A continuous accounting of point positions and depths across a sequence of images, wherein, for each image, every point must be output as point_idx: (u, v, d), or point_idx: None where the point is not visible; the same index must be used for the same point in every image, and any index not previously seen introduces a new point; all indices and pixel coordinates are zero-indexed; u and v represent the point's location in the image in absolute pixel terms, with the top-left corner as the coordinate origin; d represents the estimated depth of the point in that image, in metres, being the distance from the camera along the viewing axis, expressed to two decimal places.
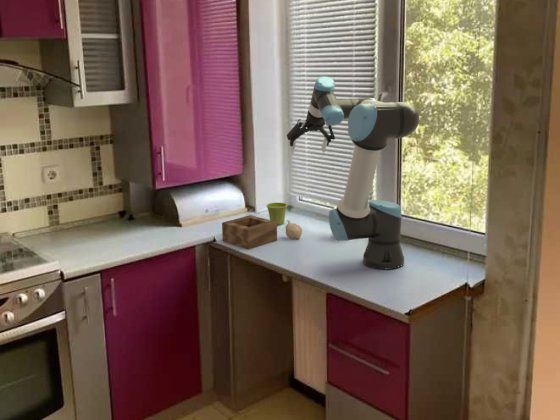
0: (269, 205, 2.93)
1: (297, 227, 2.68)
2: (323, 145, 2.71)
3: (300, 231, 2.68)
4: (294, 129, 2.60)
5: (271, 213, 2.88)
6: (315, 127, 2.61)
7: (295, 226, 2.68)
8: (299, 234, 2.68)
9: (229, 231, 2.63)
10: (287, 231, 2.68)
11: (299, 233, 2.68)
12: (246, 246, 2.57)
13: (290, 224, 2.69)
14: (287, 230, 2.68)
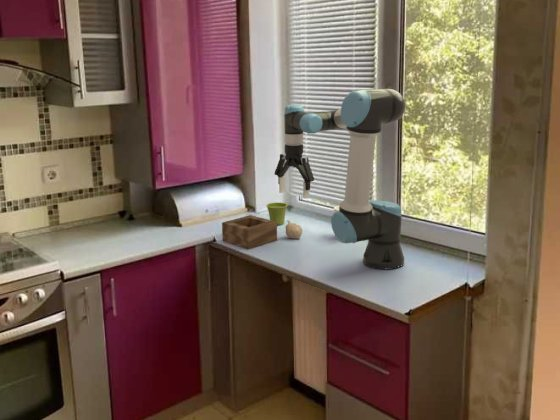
0: (269, 205, 2.93)
1: (297, 227, 2.68)
2: None
3: (300, 231, 2.68)
4: None
5: (271, 213, 2.88)
6: (292, 162, 2.61)
7: (295, 226, 2.68)
8: (299, 234, 2.68)
9: (229, 231, 2.63)
10: (287, 231, 2.68)
11: (299, 233, 2.68)
12: (246, 246, 2.57)
13: (290, 224, 2.69)
14: (287, 230, 2.68)
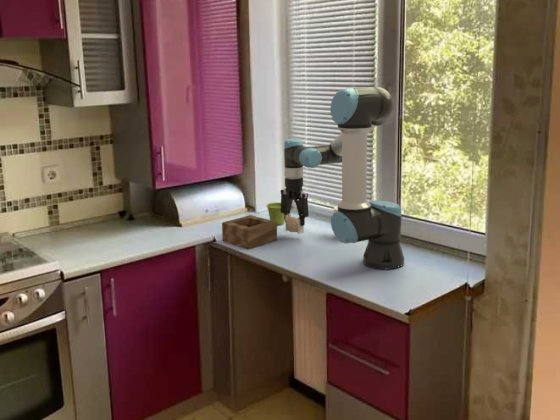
0: (269, 205, 2.93)
1: (297, 220, 2.67)
2: None
3: None
4: None
5: (271, 213, 2.88)
6: None
7: (295, 219, 2.67)
8: None
9: (229, 231, 2.63)
10: (287, 225, 2.67)
11: None
12: (246, 246, 2.57)
13: (290, 218, 2.67)
14: (287, 224, 2.67)
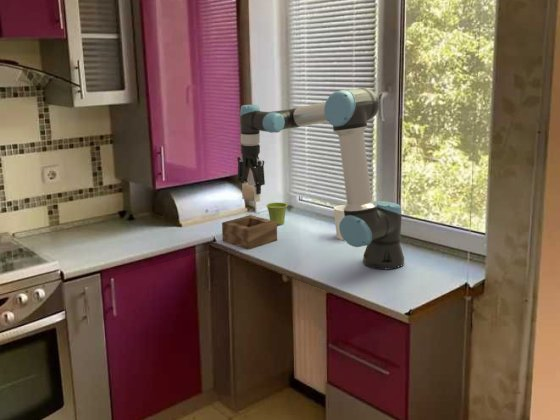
0: (269, 205, 2.93)
1: None
2: None
3: None
4: None
5: (271, 213, 2.88)
6: None
7: (252, 188, 2.61)
8: None
9: (229, 231, 2.63)
10: (244, 193, 2.61)
11: None
12: (246, 246, 2.57)
13: (247, 186, 2.62)
14: (244, 192, 2.61)
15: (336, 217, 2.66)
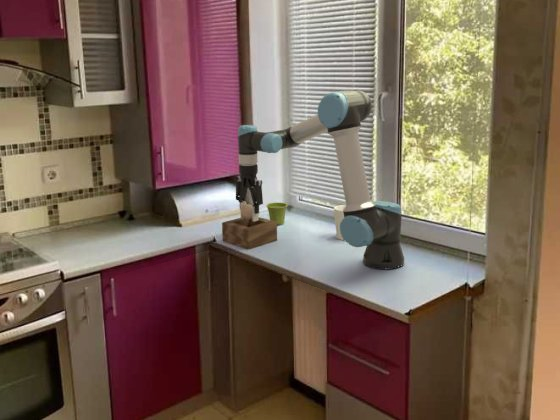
0: (269, 205, 2.93)
1: None
2: None
3: None
4: None
5: (271, 213, 2.88)
6: None
7: (250, 207, 2.63)
8: None
9: (229, 231, 2.63)
10: (242, 212, 2.63)
11: None
12: (246, 246, 2.57)
13: (245, 205, 2.63)
14: (242, 211, 2.63)
15: (336, 217, 2.66)
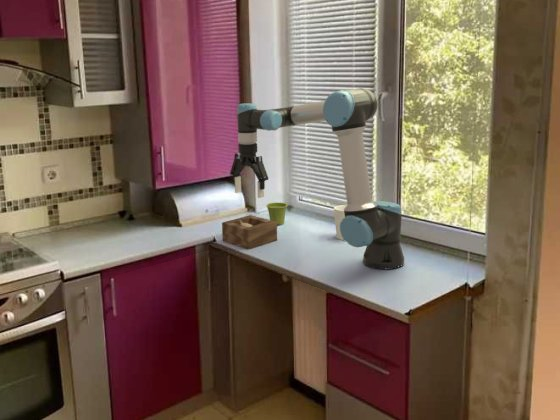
0: (269, 205, 2.93)
1: (250, 226, 2.66)
2: None
3: None
4: None
5: (271, 213, 2.88)
6: (246, 161, 2.58)
7: (248, 225, 2.65)
8: None
9: (229, 231, 2.63)
10: None
11: None
12: (246, 246, 2.57)
13: (243, 224, 2.65)
14: None
15: (336, 217, 2.66)
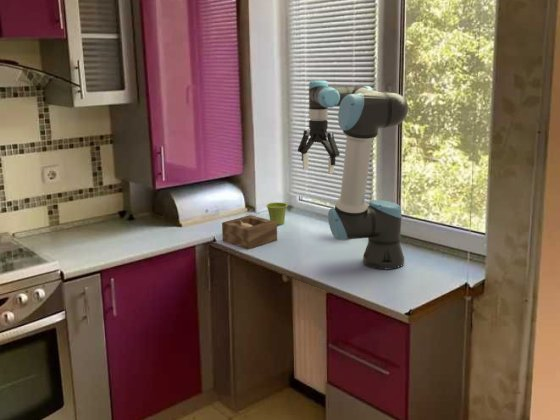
0: (269, 205, 2.93)
1: None
2: None
3: None
4: None
5: (271, 213, 2.88)
6: (317, 137, 2.62)
7: (249, 226, 2.65)
8: None
9: (229, 231, 2.63)
10: None
11: None
12: (246, 246, 2.57)
13: (243, 224, 2.65)
14: None
15: None
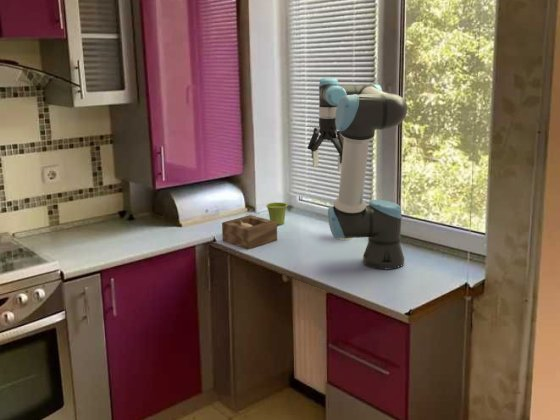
0: (269, 205, 2.93)
1: None
2: None
3: None
4: None
5: (271, 213, 2.88)
6: (326, 135, 2.62)
7: (249, 226, 2.65)
8: None
9: (229, 231, 2.63)
10: None
11: None
12: (246, 246, 2.57)
13: (243, 224, 2.65)
14: None
15: None
